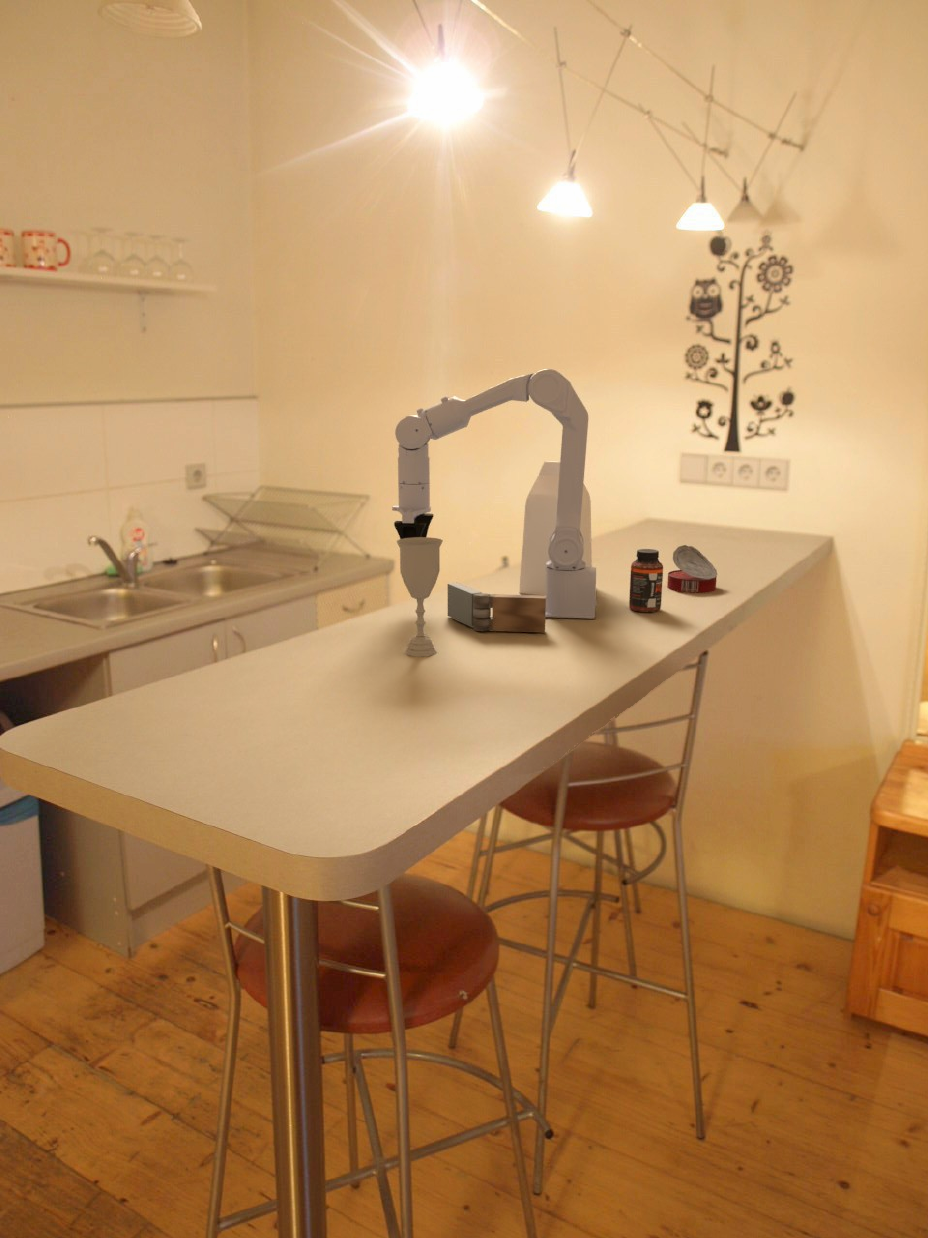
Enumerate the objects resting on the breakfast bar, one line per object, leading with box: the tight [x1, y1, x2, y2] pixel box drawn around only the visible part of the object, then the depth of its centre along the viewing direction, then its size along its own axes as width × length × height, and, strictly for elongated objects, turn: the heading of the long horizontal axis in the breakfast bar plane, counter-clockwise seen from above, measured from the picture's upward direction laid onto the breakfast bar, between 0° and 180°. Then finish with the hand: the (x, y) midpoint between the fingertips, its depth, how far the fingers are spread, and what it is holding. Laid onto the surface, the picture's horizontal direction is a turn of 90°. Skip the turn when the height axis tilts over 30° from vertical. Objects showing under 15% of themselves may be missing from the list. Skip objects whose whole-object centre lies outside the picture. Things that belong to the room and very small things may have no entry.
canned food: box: [666, 544, 718, 594], centre depth 205 cm, size 11×10×10 cm
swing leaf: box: [447, 582, 492, 628], centre depth 176 cm, size 12×3×6 cm, turn 29°
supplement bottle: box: [628, 548, 664, 613], centre depth 186 cm, size 6×6×11 cm
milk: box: [518, 460, 593, 596], centre depth 201 cm, size 12×12×26 cm
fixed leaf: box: [472, 592, 547, 633], centre depth 171 cm, size 12×3×6 cm, turn 83°
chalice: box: [396, 536, 444, 657], centre depth 158 cm, size 7×7×18 cm
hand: (414, 556), depth 185 cm, fingers open, 7 cm apart
